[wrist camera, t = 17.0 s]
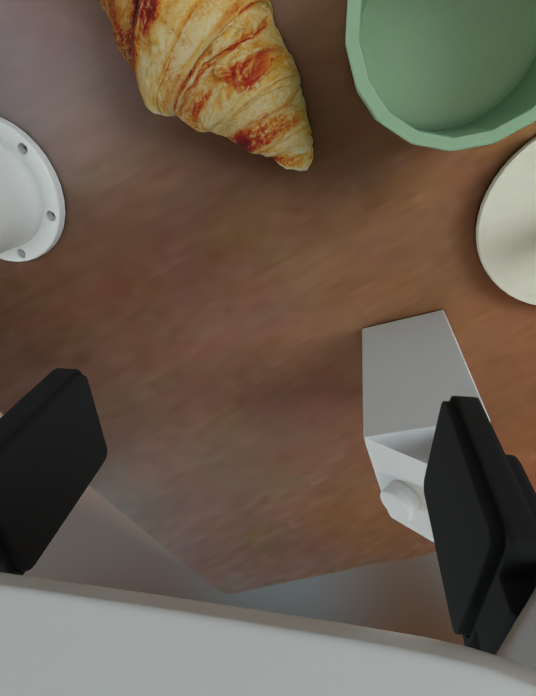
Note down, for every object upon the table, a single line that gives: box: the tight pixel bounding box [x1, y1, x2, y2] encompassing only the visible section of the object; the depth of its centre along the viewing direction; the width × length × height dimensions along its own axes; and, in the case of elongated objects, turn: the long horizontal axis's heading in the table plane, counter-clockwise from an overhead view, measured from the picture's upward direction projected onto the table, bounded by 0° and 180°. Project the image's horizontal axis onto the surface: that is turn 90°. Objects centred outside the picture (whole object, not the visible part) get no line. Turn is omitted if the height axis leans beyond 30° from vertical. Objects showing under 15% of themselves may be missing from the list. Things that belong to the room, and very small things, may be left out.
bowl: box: [345, 0, 536, 151], centre depth 24 cm, size 13×13×8 cm
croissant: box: [99, 0, 313, 171], centre depth 28 cm, size 21×10×8 cm, turn 47°
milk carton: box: [362, 310, 491, 542], centre depth 30 cm, size 7×7×19 cm
